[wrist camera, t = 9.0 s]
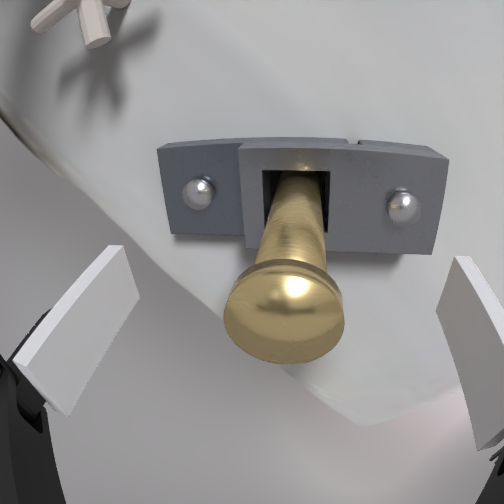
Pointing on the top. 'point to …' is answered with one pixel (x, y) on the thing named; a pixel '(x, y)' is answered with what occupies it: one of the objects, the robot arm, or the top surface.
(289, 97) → the top surface
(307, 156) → the square socket block
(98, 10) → the white crossed rod jack
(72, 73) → the top surface
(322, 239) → the pin
